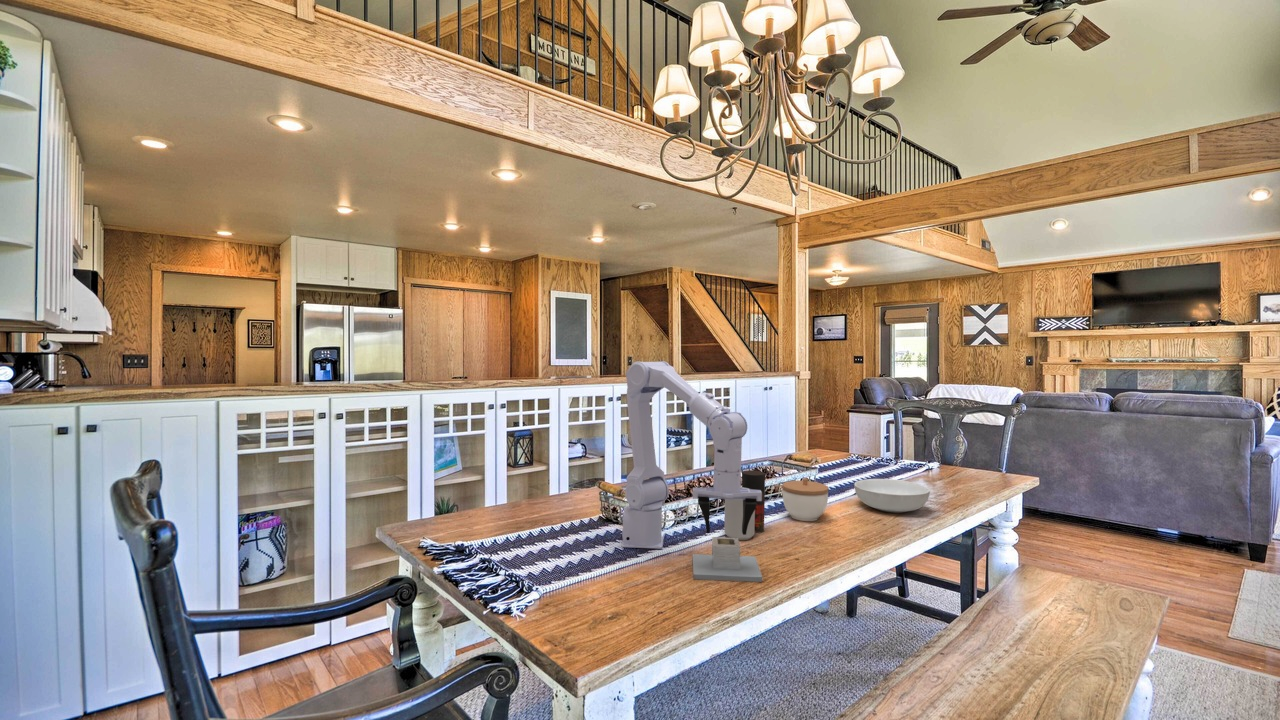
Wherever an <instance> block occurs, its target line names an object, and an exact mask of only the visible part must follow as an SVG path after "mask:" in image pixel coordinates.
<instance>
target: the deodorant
mask: <svg viewBox="0 0 1280 720" xmlns="http://www.w3.org/2000/svg"><path fill="white" fill-rule="evenodd" d="M741 487H743V488H748V489H752V490H761V492H762V501H756V502H757V506H756V509H755V529H754V534H760V533H761V534H762V533H763V532H764V531H765V504H766V502H765V499H766V498H765V497H766V493H765V492H766V473H765V472H764V471H761V470H760V471H759V470H751V469H750V470H743V471H741Z"/></svg>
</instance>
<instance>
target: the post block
mask: <svg viewBox="0 0 1280 720" xmlns="http://www.w3.org/2000/svg"><path fill="white" fill-rule="evenodd" d="M692 574H693V575H692V576H693V577H692V578H693V580H701V581H702V580H703V581H705V580H706V581H727V582H729V581H730V582H732V581H733V582H750V583H751V582H752V583H753V582H754V583H763V575H762V572H761V569H760V566H759V563H758V561H757V557H756V556H751V555H740V570H724V569H713V564H712V554H703V553H702V554H701V553H700V554H698V553H692Z"/></svg>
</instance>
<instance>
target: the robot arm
mask: <svg viewBox="0 0 1280 720" xmlns="http://www.w3.org/2000/svg"><path fill="white" fill-rule="evenodd" d="M625 377H626V387H627V388H626V404H627V412H628V413H627V415H628V423H629V431H630V432H629V434H630V443H631V452H632V460H633V461H632V462H633V469H632V470H631V471H630V472H629V473H628V474H627V476H626V487H625V492H624V493H625V494H624V495H625V499H626V501H627V504H628V505H627V506H624V507H623V513H622V531H621V535H622V547H623V548H629V549H630V548H631V549H632V548H633V549H635V548H637V549H656V550H657V549H659V550H660V549H663V545H664V536H663V535H662V532H663V531H662V528H663V527H662V525H663V524H662V521H663V519H662V517H663V507H664V504H665V501H667V499H668V497H669V493H670V488H669V485H668V483H667V481H666V477H665V472H664V470H663V469H661V468H660V467H659V466H658V465H657V460H656V451H655V440H654V431H653V423H652V415H651V414H652V411H651V405H650V404H651V403H650V401H651V400H652V399H653V397H654V396H655V394H657V393H658V392H660V391H661V390H663V389H664V388H665V389H667V391H669V392H671V393H672V394H673V395H674V396H676V397H677V398H679V399H680V400H682V401H683V402H685V403H686V404H687V405H688V409H689V413H690V414H691V415H693V416H694V417H695V418H696V419H698V420H699V422H701V423H702V424H703V425H704V426H705V427H707V428H708V431H709V435H710V436H711V438H712V445H713V446H714V447H713V448H714V456H713V457H714V458H713V459H714V461H713V462H714V464H713V468H714V469H713V486H709V487H708V486H707V487H706V486H705V487H692V499H695V500H697V503H698V506H699V508H700V511H701V513H702V517H703V519H704V523H705V531H706V534H710V533H711V523H710V510H711V504H710V502H711V501H710V500H712V499H713V500H714V499H717V500H718V499H719V500H725V499H738V500H743V521H742V533H743V535H746V532H747V527H748V524H749V521H750V518H751V516H752V514H753V512H754V510H755V509H756V506H757V502H756V501H762V492H761V490H752V489H744V488H741V487H742V449H743V448H742V447H743V446H742V444H743V443H742V442H743V441H742V440H743V438H744V437H745V435H746V434H747V432H748V422H747V420H746V418H745V417H744V416H743V415H742V413H741V412H738V411H730V408H729V407H728V406H727V405H725V406H724V405H722V404H721V403H720V402H719V401H718V400H716V399H715V395H714V394H713V393H712V392H704V391H703V392H700V393H699V392H698V391H697V390H696V389H695V388H694V387H693V386H691V384H689V383H688V382H687V381H686V380H685V379H684V378H683V377H682V376H680V375H679V373H678V372H676V369H675V367H674V366H672V365H670V364H669V363H668V362H667V361H664V360H661V361H660V360H659V361H634V362H633V363H631V365H630V366H629V368H628V369H627V370H626V372H625Z"/></svg>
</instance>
